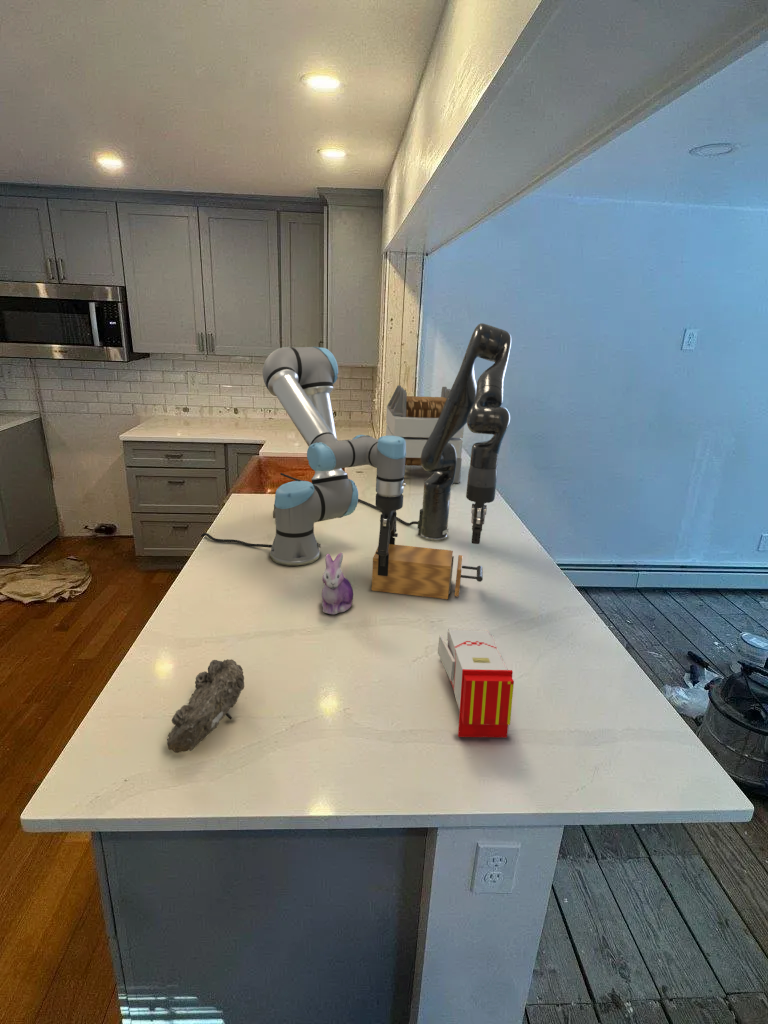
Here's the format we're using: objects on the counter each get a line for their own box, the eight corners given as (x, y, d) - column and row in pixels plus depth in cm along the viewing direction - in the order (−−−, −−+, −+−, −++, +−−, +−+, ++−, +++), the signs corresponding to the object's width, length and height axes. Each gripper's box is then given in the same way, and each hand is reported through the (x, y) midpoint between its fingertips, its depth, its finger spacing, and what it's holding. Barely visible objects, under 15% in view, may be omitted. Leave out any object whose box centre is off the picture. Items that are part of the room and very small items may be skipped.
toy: (488, 613, 130) (523, 677, 101) (484, 667, 133) (517, 744, 104) (435, 612, 130) (455, 676, 101) (432, 666, 133) (451, 743, 103)
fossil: (192, 660, 117) (244, 628, 112) (224, 691, 120) (276, 661, 115) (142, 746, 98) (202, 712, 93) (182, 779, 101) (242, 748, 96)
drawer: (480, 583, 164) (483, 557, 161) (480, 599, 155) (483, 572, 152) (391, 573, 168) (392, 547, 165) (386, 588, 159) (387, 561, 156)
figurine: (327, 619, 143) (328, 565, 138) (313, 601, 152) (313, 549, 147) (361, 611, 147) (363, 559, 142) (345, 594, 156) (346, 544, 151)
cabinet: (450, 581, 166) (453, 550, 163) (447, 599, 156) (450, 566, 153) (378, 573, 169) (379, 542, 166) (371, 590, 159) (372, 557, 156)
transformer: (382, 463, 289) (386, 382, 275) (445, 464, 293) (451, 384, 279) (390, 482, 257) (394, 392, 243) (460, 483, 261) (468, 394, 247)
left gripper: (397, 508, 143) (393, 586, 151) (408, 482, 165) (404, 551, 172) (368, 505, 144) (365, 583, 152) (383, 480, 166) (380, 549, 173)
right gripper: (496, 490, 143) (489, 553, 148) (495, 476, 155) (489, 535, 161) (466, 488, 144) (460, 550, 150) (468, 474, 156) (462, 532, 162)
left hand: (386, 566), depth 162 cm, fingers closed on cabinet, 11 cm apart
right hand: (475, 542), depth 155 cm, fingers closed
